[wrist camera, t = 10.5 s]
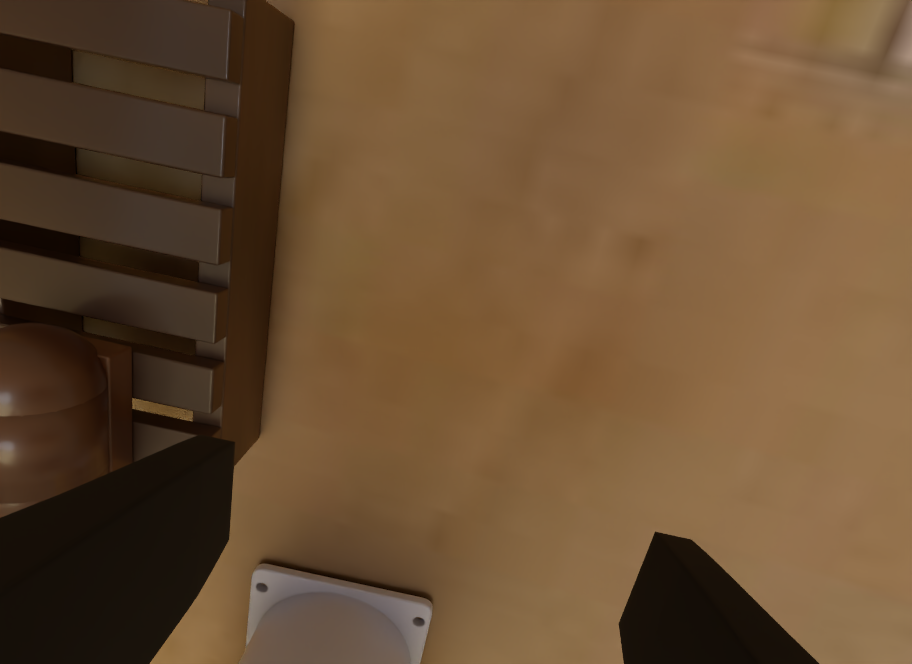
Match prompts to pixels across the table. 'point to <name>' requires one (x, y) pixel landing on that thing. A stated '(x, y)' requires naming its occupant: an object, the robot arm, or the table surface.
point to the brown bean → (60, 412)
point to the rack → (149, 195)
